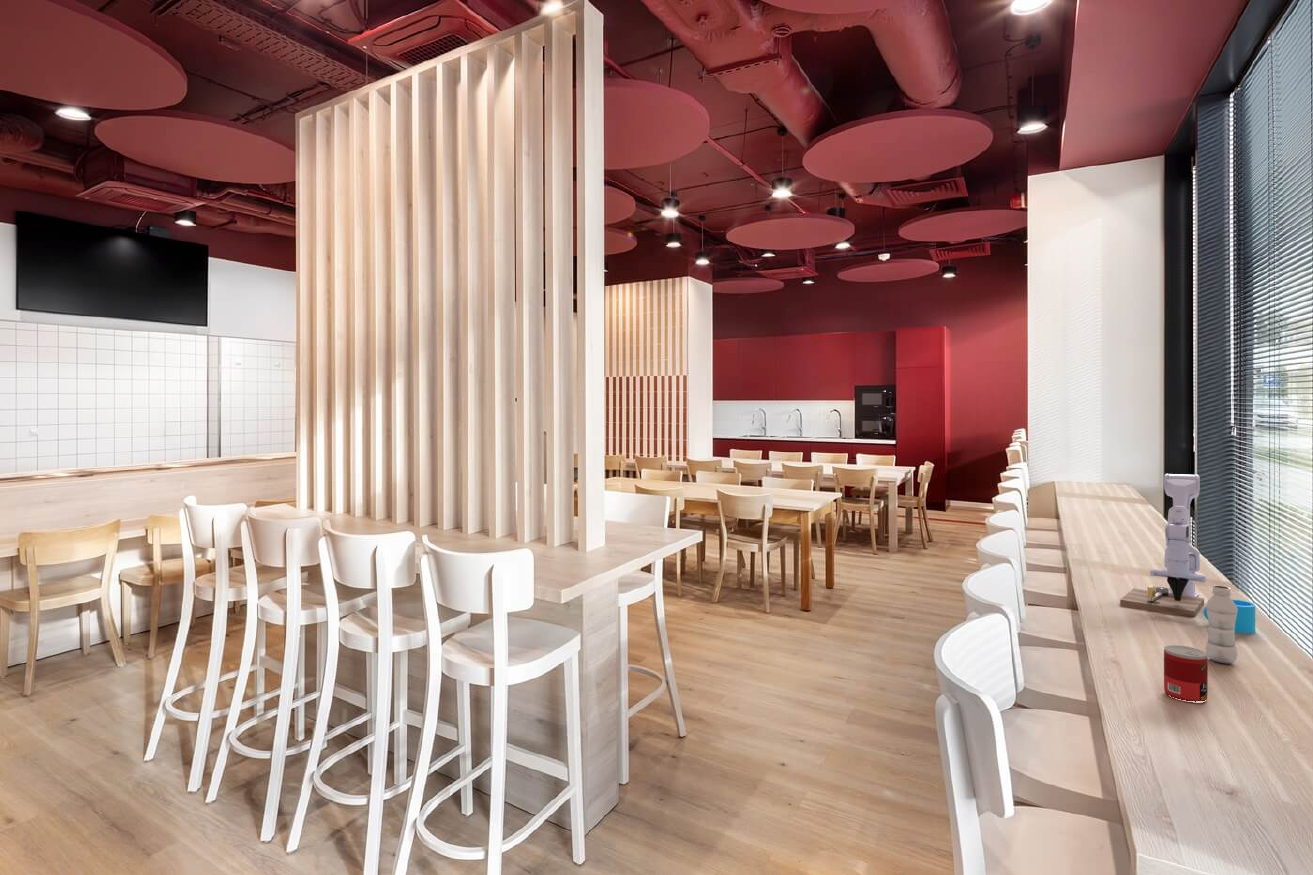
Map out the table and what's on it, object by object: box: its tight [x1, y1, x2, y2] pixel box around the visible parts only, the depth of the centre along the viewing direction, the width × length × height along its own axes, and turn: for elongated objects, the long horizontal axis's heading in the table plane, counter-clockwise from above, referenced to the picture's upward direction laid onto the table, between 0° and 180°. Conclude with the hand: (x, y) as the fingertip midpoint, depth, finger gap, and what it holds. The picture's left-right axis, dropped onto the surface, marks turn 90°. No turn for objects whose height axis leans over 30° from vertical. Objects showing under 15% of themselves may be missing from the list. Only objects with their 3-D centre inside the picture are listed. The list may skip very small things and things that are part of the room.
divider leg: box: [1147, 584, 1169, 602], centre depth 227 cm, size 16×4×5 cm, turn 128°
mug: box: [1203, 598, 1256, 635], centre depth 201 cm, size 12×8×8 cm
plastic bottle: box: [1205, 585, 1239, 664], centre depth 174 cm, size 6×7×20 cm
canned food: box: [1163, 644, 1209, 702], centre depth 154 cm, size 8×8×11 cm
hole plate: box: [1119, 588, 1205, 618], centre depth 226 cm, size 20×20×2 cm
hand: (1177, 600), depth 219 cm, fingers closed
